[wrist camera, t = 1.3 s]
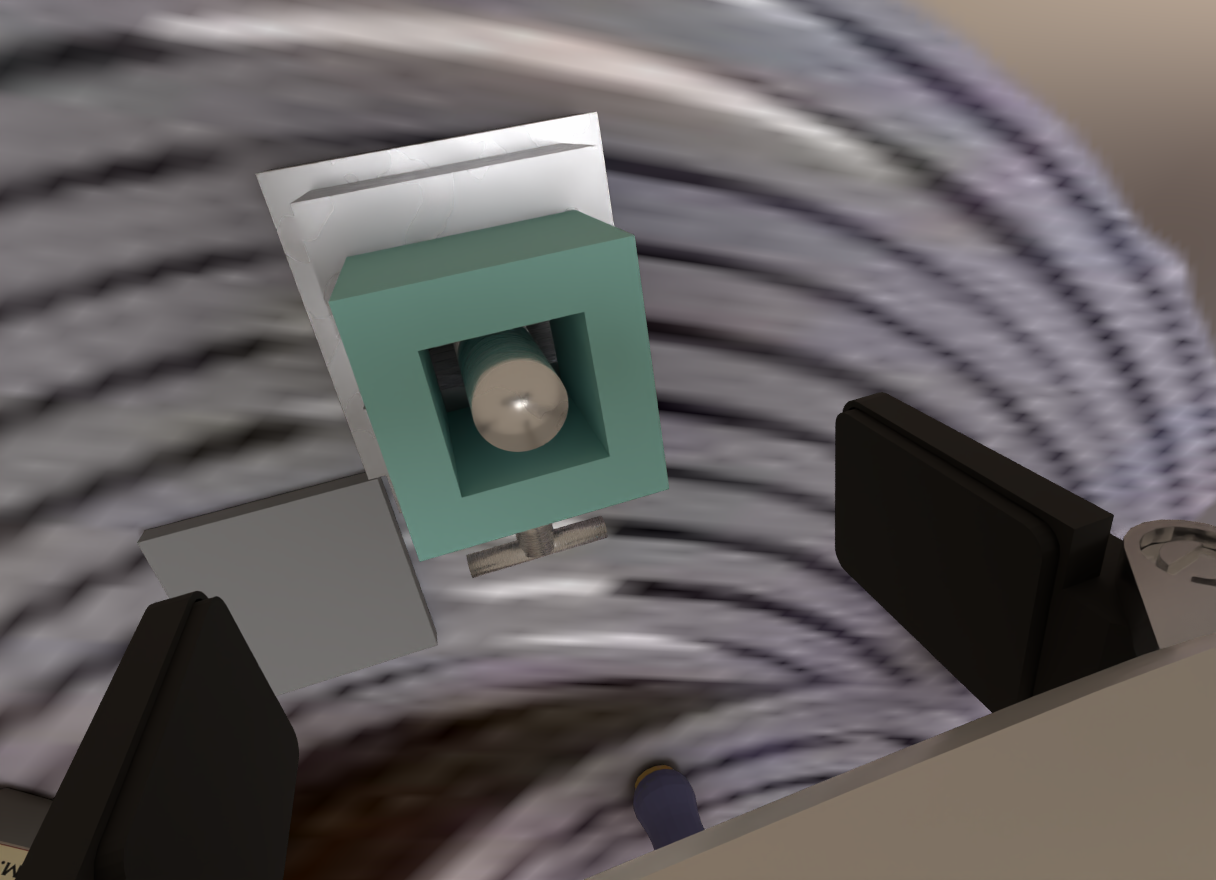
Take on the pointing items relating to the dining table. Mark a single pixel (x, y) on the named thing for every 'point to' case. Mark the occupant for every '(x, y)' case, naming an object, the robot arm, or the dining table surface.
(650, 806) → the rubber mallet
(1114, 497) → the dining table surface
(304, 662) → the mat
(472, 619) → the dining table surface
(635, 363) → the collar
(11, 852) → the liquor
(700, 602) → the dining table surface
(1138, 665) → the robot arm
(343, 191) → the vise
